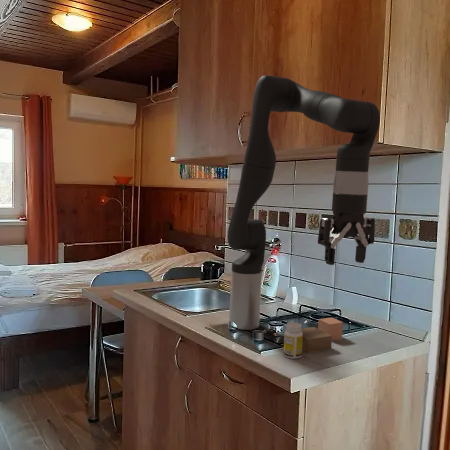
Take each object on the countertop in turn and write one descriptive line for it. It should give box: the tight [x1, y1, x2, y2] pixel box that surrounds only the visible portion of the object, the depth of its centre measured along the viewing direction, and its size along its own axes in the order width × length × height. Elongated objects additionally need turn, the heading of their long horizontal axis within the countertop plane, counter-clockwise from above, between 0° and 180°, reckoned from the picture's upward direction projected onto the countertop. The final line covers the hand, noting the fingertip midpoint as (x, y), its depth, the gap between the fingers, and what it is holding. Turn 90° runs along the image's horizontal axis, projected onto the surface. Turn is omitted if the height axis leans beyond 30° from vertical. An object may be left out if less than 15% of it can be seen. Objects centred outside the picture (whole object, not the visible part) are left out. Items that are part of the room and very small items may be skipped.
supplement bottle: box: [283, 321, 303, 360], centre depth 122 cm, size 5×5×8 cm
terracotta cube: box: [317, 317, 344, 341], centre depth 137 cm, size 5×5×5 cm
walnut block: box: [301, 326, 333, 354], centre depth 129 cm, size 8×8×4 cm
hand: (344, 263), depth 106 cm, fingers open, 8 cm apart
